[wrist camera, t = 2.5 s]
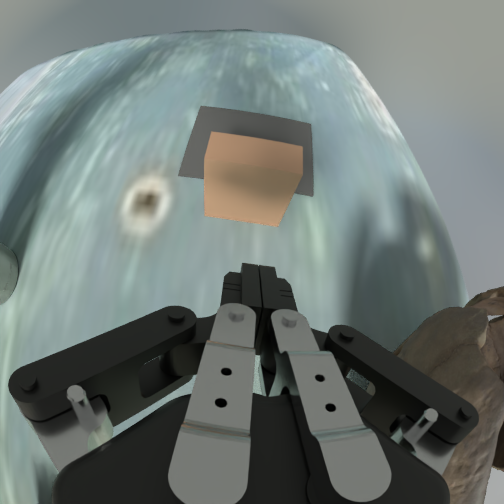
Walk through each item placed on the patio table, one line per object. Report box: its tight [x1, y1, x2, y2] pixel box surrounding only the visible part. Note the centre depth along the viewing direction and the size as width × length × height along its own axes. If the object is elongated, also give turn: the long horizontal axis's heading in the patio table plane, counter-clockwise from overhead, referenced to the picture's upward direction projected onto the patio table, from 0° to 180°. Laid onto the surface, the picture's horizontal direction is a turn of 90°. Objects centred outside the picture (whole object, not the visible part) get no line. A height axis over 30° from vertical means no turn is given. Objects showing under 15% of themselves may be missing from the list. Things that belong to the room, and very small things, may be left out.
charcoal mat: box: [178, 106, 313, 196], centre depth 44 cm, size 20×16×1 cm
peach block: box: [204, 131, 303, 227], centre depth 34 cm, size 10×4×12 cm, turn 84°
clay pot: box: [366, 286, 504, 504], centre depth 20 cm, size 24×24×25 cm
